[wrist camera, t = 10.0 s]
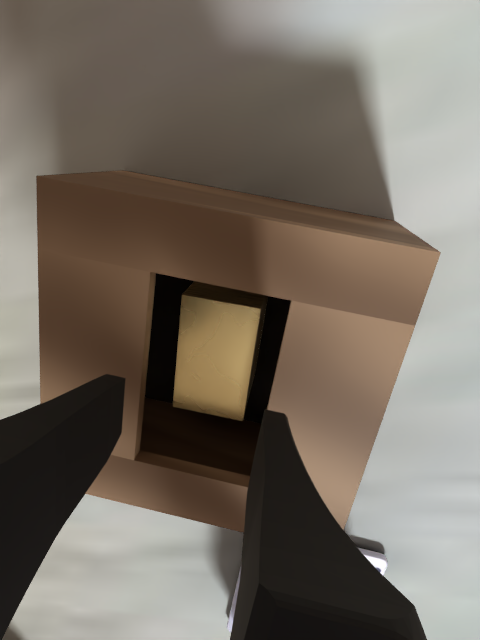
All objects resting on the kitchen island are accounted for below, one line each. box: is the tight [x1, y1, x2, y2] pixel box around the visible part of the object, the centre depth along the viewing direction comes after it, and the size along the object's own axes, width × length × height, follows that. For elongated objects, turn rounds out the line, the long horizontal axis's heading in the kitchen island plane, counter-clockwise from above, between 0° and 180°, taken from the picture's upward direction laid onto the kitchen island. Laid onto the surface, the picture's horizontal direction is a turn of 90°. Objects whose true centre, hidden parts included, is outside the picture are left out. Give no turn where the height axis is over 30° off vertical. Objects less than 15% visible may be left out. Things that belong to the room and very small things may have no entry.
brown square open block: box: [37, 170, 441, 533], centre depth 17 cm, size 12×12×6 cm
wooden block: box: [173, 281, 268, 421], centre depth 19 cm, size 5×3×5 cm, turn 172°
